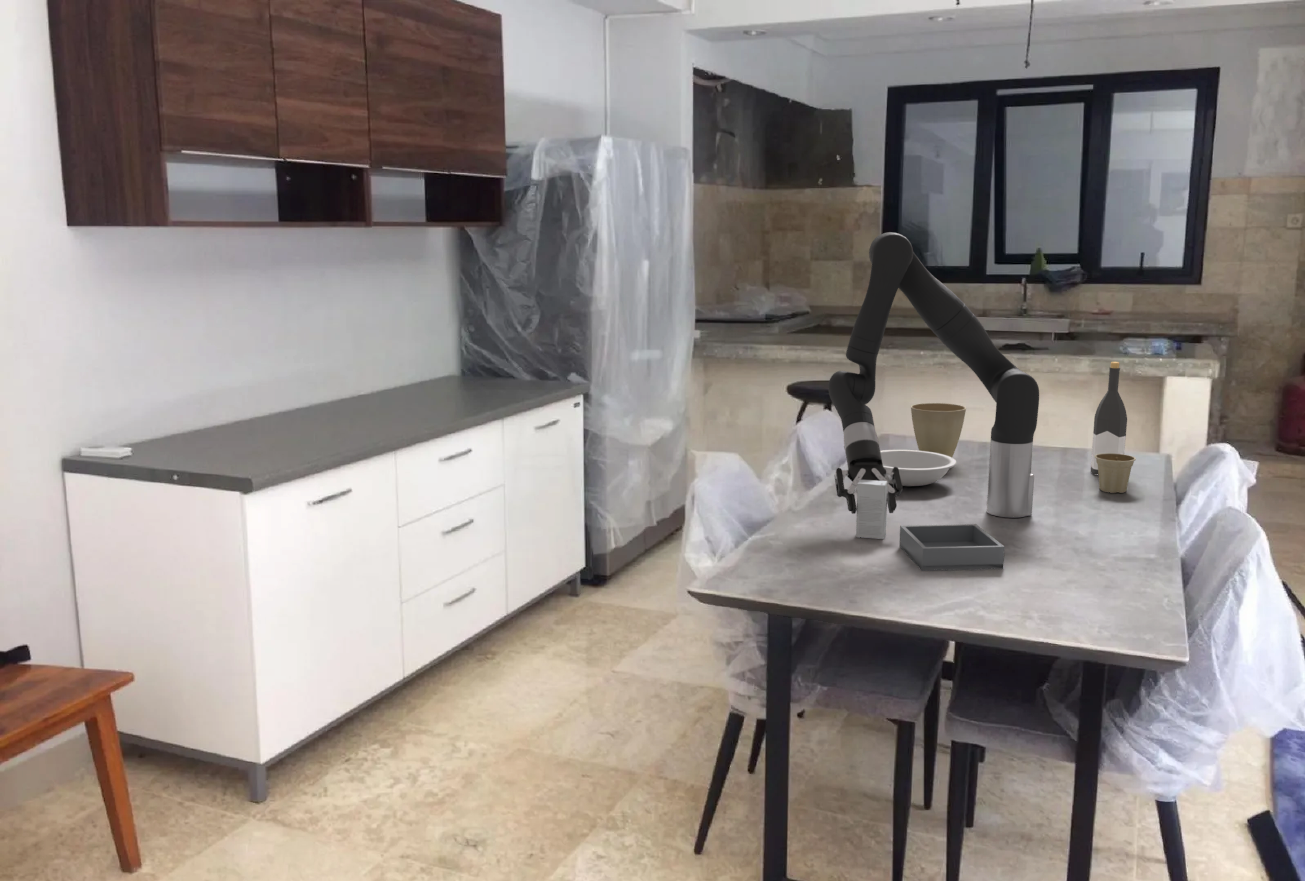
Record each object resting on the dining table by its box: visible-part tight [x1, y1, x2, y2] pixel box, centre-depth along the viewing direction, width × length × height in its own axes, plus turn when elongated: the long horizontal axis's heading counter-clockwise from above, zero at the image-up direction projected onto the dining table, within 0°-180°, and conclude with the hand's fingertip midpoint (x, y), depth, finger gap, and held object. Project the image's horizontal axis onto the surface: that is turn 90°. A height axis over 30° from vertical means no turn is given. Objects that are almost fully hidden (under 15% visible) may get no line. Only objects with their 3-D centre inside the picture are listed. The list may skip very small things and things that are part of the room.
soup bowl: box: [880, 449, 957, 487], centre depth 275 cm, size 24×24×7 cm
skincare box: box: [855, 480, 888, 540], centre depth 229 cm, size 6×4×12 cm
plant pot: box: [910, 402, 967, 458], centre depth 298 cm, size 15×15×16 cm
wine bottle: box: [1090, 361, 1128, 475], centre depth 282 cm, size 8×8×30 cm
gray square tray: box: [898, 523, 1005, 572], centre depth 214 cm, size 16×16×4 cm
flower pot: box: [1095, 453, 1137, 494], centre depth 266 cm, size 9×9×9 cm
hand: (873, 511), depth 227 cm, fingers open, 7 cm apart
